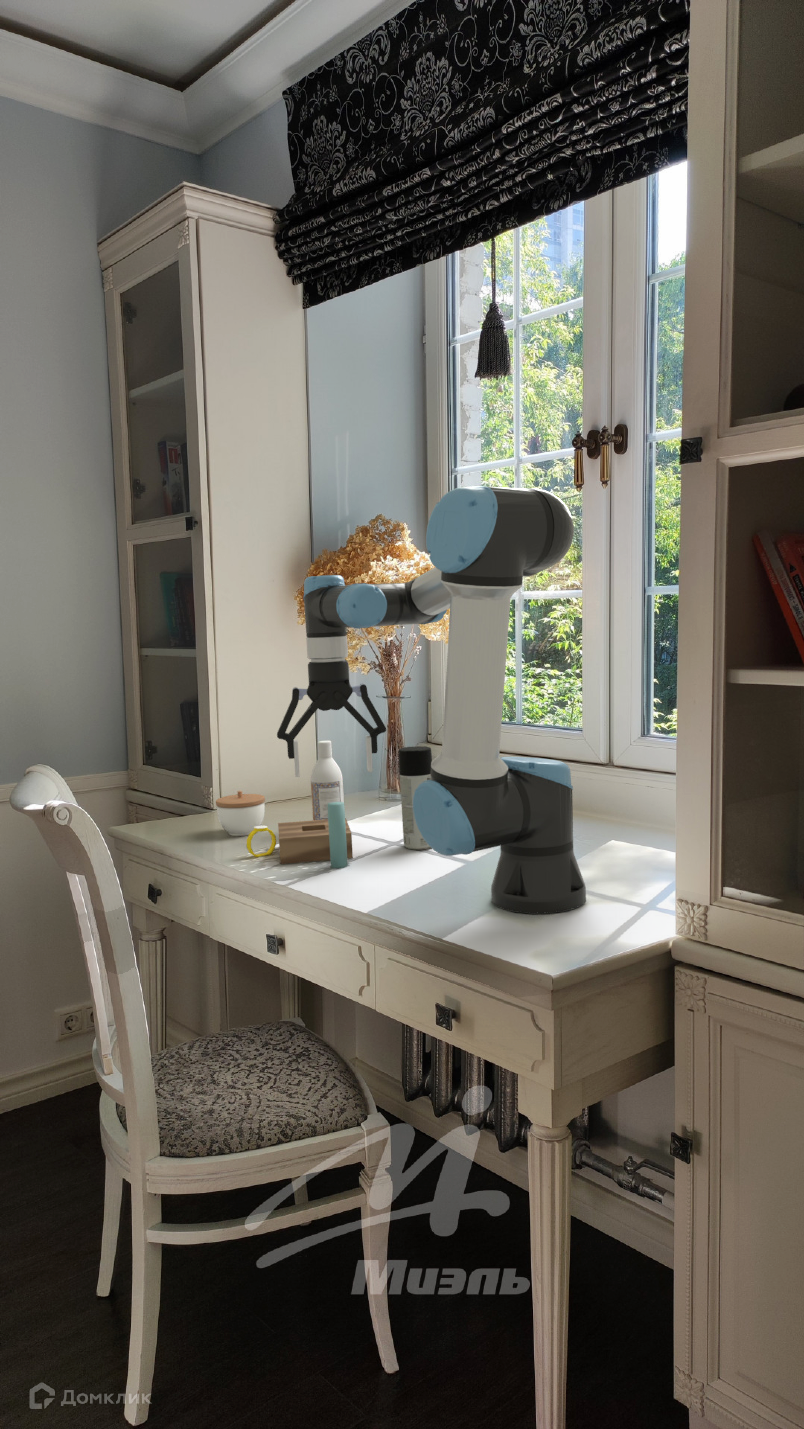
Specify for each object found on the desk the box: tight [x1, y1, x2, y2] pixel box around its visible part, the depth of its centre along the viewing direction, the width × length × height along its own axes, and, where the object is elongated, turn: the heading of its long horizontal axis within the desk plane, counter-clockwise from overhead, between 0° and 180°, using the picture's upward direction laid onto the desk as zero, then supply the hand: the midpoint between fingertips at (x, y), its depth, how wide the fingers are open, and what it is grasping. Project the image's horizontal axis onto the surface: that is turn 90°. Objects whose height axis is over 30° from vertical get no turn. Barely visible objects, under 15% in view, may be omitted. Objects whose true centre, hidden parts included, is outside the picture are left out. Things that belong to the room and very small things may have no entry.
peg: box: [327, 802, 349, 869], centre depth 182 cm, size 3×3×12 cm
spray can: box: [398, 745, 433, 851], centre depth 194 cm, size 7×7×20 cm
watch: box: [246, 825, 277, 858], centre depth 194 cm, size 6×3×6 cm, turn 125°
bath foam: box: [310, 740, 345, 820], centre depth 210 cm, size 7×7×20 cm
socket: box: [277, 817, 354, 865], centre depth 194 cm, size 14×14×5 cm
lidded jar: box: [215, 790, 266, 837], centre depth 214 cm, size 11×11×9 cm
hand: (333, 773), depth 181 cm, fingers open, 13 cm apart
